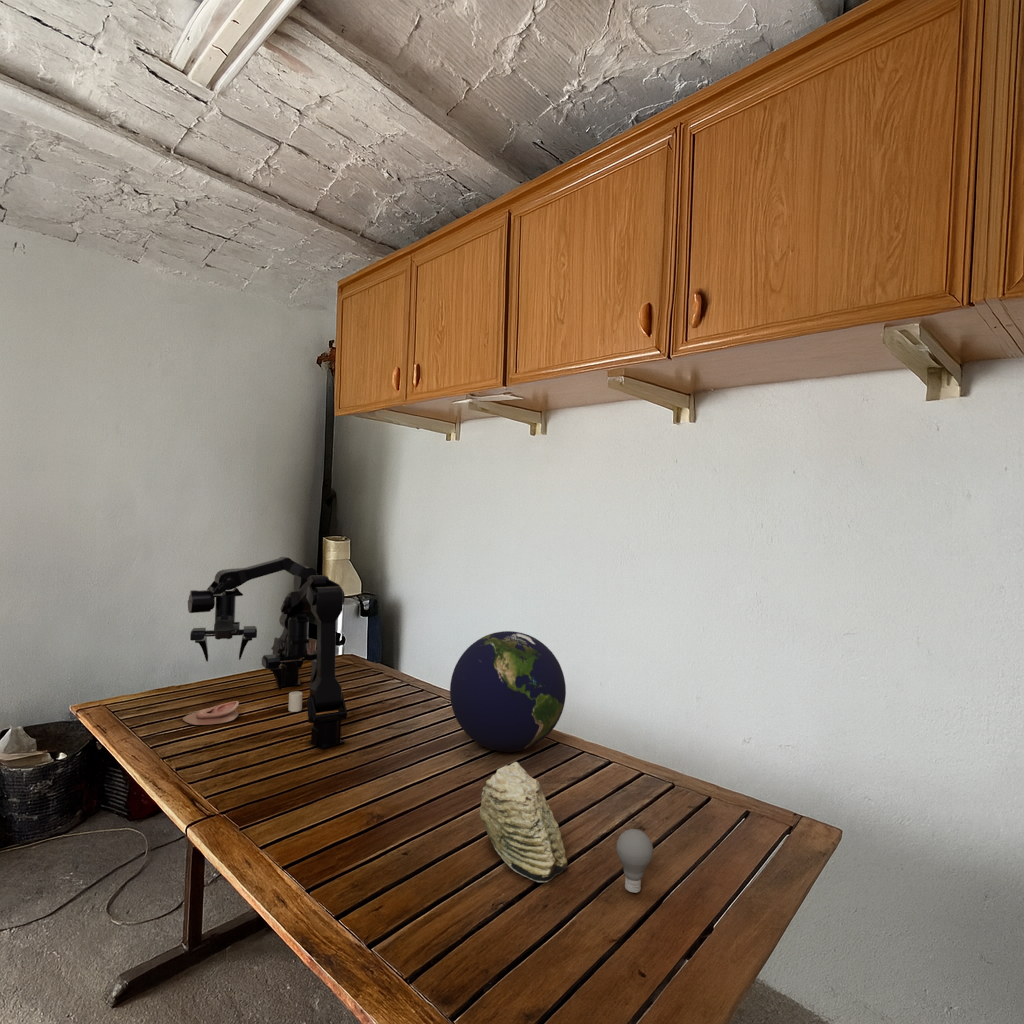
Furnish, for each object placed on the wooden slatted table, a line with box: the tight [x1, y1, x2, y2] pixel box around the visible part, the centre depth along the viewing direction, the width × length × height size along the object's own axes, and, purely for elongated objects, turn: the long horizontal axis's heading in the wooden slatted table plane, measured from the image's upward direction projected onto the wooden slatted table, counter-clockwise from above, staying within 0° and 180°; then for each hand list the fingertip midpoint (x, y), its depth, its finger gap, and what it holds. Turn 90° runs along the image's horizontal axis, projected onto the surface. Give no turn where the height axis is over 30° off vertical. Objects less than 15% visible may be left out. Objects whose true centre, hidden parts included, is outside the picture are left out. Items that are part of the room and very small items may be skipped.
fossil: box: [479, 761, 569, 883], centre depth 114 cm, size 9×18×15 cm, turn 46°
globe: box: [449, 630, 567, 753], centre depth 164 cm, size 30×30×30 cm
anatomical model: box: [182, 700, 240, 726], centre depth 176 cm, size 13×4×12 cm
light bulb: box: [615, 828, 654, 894], centre depth 106 cm, size 6×6×10 cm
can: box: [287, 690, 304, 713], centre depth 186 cm, size 4×4×5 cm
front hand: (295, 687), depth 186 cm, fingers open, 9 cm apart
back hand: (223, 660), depth 197 cm, fingers open, 9 cm apart
